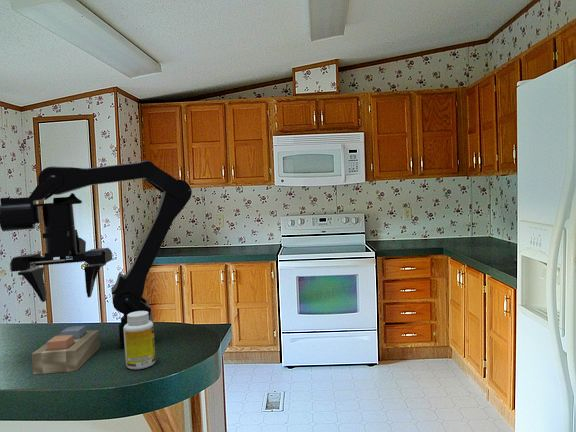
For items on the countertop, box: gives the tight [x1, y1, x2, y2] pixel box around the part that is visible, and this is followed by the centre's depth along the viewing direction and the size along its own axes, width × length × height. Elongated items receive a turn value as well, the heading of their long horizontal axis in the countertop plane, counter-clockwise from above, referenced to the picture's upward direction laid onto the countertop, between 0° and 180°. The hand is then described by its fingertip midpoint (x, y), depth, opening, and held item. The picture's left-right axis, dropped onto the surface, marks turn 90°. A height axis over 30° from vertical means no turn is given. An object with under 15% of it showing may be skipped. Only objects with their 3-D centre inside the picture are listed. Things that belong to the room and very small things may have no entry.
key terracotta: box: [46, 335, 74, 351], centre depth 86 cm, size 4×4×3 cm
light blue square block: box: [60, 325, 87, 339], centre depth 92 cm, size 4×4×3 cm
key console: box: [31, 329, 101, 375], centre depth 89 cm, size 8×13×4 cm, turn 5°
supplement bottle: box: [123, 311, 157, 370], centre depth 84 cm, size 6×6×10 cm
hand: (66, 299), depth 92 cm, fingers open, 9 cm apart
